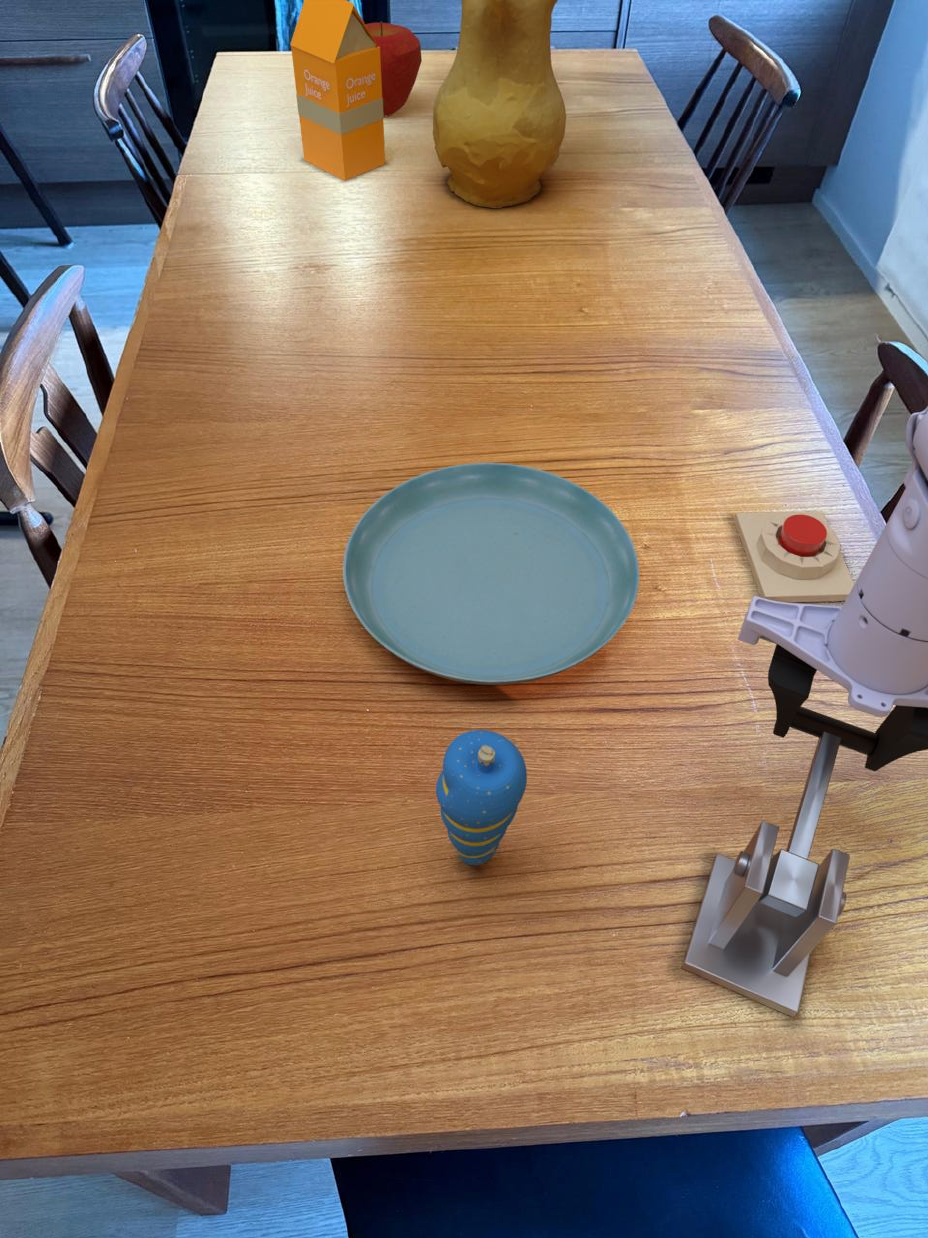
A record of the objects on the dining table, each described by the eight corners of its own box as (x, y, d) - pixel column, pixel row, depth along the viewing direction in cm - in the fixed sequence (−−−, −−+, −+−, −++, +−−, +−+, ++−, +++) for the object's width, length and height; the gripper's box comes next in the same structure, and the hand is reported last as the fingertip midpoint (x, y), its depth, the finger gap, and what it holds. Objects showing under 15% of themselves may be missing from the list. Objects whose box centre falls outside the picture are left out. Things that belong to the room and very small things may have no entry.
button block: (855, 601, 75) (866, 581, 74) (762, 603, 75) (770, 583, 73) (819, 517, 82) (828, 497, 80) (733, 519, 81) (740, 499, 79)
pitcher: (402, 184, 121) (408, -40, 102) (490, 147, 131) (510, -63, 112) (500, 231, 114) (526, 1, 95) (585, 189, 124) (623, -27, 105)
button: (826, 556, 76) (832, 543, 75) (784, 557, 76) (790, 544, 74) (813, 526, 78) (819, 513, 77) (773, 527, 78) (778, 514, 77)
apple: (436, 110, 137) (435, 20, 128) (386, 132, 132) (382, 39, 123) (384, 90, 142) (380, 1, 132) (334, 110, 136) (327, 19, 127)
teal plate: (426, 459, 86) (426, 431, 83) (669, 540, 80) (676, 513, 77) (290, 637, 72) (284, 610, 69) (571, 752, 66) (576, 727, 63)
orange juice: (345, 143, 129) (331, -21, 114) (386, 163, 125) (378, -4, 110) (302, 160, 126) (283, -8, 110) (344, 181, 122) (329, 11, 106)
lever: (790, 712, 57) (799, 698, 55) (870, 741, 56) (883, 727, 54) (734, 892, 52) (742, 884, 50) (820, 928, 51) (832, 921, 49)
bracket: (713, 858, 61) (752, 788, 53) (817, 901, 59) (873, 834, 51) (681, 968, 56) (718, 908, 48) (793, 1018, 54) (850, 963, 47)
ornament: (452, 816, 62) (455, 693, 51) (523, 840, 61) (543, 720, 50) (425, 883, 59) (422, 769, 47) (500, 910, 58) (515, 799, 46)
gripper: (754, 605, 45) (695, 747, 55) (1067, 709, 41) (940, 840, 52) (784, 516, 49) (723, 664, 59) (1071, 603, 45) (952, 744, 56)
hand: (825, 740), depth 56 cm, fingers closed on lever, 5 cm apart
